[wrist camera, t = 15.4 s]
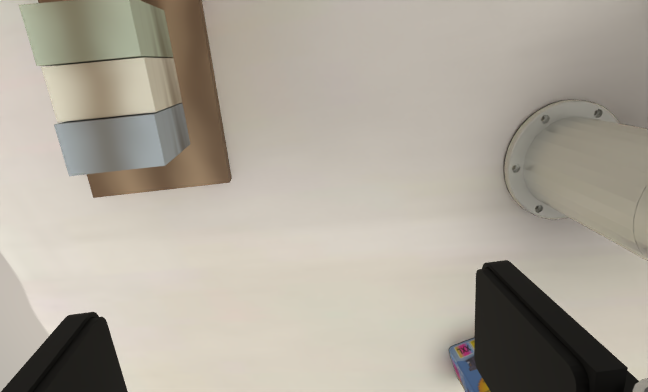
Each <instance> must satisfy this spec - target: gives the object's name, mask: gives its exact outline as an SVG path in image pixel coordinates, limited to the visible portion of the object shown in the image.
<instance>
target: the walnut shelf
mask: <svg viewBox="0 0 648 392" xmlns="http://www.w3.org/2000/svg"><path fill="white" fill-rule="evenodd" d="M38 2H39V3H36V4H24V5H19V7H20V11H21V14H22V18H23V21H24V24H25V28H26V31H27V35H28V38H29V41H30V45H31V48H32V51H33V55H34V58H35V62H36V65H37V66H50V67H41V68H42V71H43V75H44V78H45V82H46V85H47V89H48V92H49V95H50V99H51V102H52V106H53V109H54V112H55V116H56V119H57V122H62V123H58V124H55V125H54V126H55V129H56V133H57V136H58V140H59V143H60V146H61V150H62V153H63V157H64V160H65V163H66V167H67V170H68V174H69V176H75V175H84V174H87V177H88V180H89V184H90V187H91V191H92V194H93V198H95V197H104V196H113V195H122V194H131V193H140V192H149V191H158V190H167V189H176V188H185V187H194V186H202V185H211V184H220V183H229V182H230V181H231V179H232V178H231V172H230V166H229V160H228V154H227V148H226V142H225V136H224V130H223V124H222V118H221V113H220V107H219V101H218V95H217V89H216V83H215V77H214V71H213V65H212V59H211V53H210V47H209V42H208V36H207V30H206V24H205V18H204V12H203V6H202V0H69V1H65V0H38ZM65 121H66V122H65Z"/></svg>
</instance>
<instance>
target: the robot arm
mask: <svg viewBox="0 0 648 392" xmlns="http://www.w3.org/2000/svg"><path fill="white" fill-rule="evenodd" d="M541 118H542V119H541ZM513 166H514V167H513ZM512 167H513V168H512ZM504 173H505V181H506V184H507V187H508V190H509V192H510V194H511V196H512V197H513V199H514V200H515V201H516V202H517V203H518V204H519V205H520V206H521V207H522V208H524V209H525V210H527V211H528V212H530V213H532V214H533V215H536V216H539V217H542V218H546V219H563V218H569V217H570V218H571V219H573V220H575V221H577V222H579V223H580V224H582V225H584V226H586V227H588V228H589V229H591V230H593V231H595V232H597V233H598V234H600V235H602V236H604V237H606V238H607V239H609V240H611V241H613V242H615V243H616V244H618V245H620V246H622V247H624V248H625V249H627V250H629V251H631V252H633V253H634V254H636V255H638V256H640V257H642V258H643V259H645V260H647V261H648V129H645V128H640V127H635V126H629V125H624V124H620V123H619V121H618V120H617V119H616V118H615V116H614V115H613V114H612V113H611V112H610V111H608V110H607V109H606V108H605V107H603V106H601V105H598V104H596V103H593V102H588V101H583V100H566V101H560V102H557V103H553V104H550V105H548V106H546V107H544V108H542V109H540V110H539V111H537V112H536V113H535V114H533V115H532V116H531V117H529V118H528V119H527V120H526V121H525V122H524V124H523V125H522V126H521V127H520V128H519V130H518V131H517V132H516V134H515V135H514V137H513V139H512V141H511V143H510V145H509V147H508V151H507V154H506V158H505V167H504ZM474 359H475V364H476V367H477V370H478V372H479V373H480V375H481V377H482V378H483V380H484V382H485V383H486V385H487V387H488V388H489V390H490V391H491V392H648V378H647V379H642V380H641V381H638V380H637V379H636V378H635V377H634V376H633V375H632V374H631V373H629V372H628V371H627V367H626V366H625V365H624V364H623V363H622V362H621V361H619V360H618V359H617V358H616V357H615V356H614V355H613V354H612V353H611V352H609V351H608V350H607V349H606V348H605V347H604V346H603V345H602V344H601V343H599V342H598V341H597V340H596V339H595V338H594V337H593V336H592V335H591V334H589V333H588V332H587V331H586V330H585V329H584V328H583V327H582V326H581V325H579V324H578V323H577V322H576V321H575V320H574V319H573V318H572V317H571V316H570V315H568V314H567V313H566V312H565V311H564V310H563V309H562V308H561V307H560V306H558V305H557V304H556V303H555V302H554V301H553V300H552V299H551V298H550V297H548V296H547V295H546V294H545V293H544V292H543V291H542V290H541V289H540V288H538V287H537V286H536V285H535V284H534V283H533V282H532V281H531V280H530V279H528V278H527V277H526V276H525V275H524V274H523V273H522V272H521V271H520V270H518V269H517V268H516V267H515V266H514V265H513V264H512V263H511V262H509V261H508V260H505V261H497V262H489V263H485V264H484V265H483V267H482V269H479V270H477V273H476V301H475V345H474ZM1 392H128V391H127V388H126V385H125V381H124V378H123V375H122V371H121V368H120V365H119V361H118V358H117V355H116V351H115V348H114V345H113V341H112V338H111V335H110V331H109V328H108V325H107V322H106V320H105V318H103V317H99V316H98V315H97V313H95V312H89V313H81V314H73V315H68V316H67V317H66V318H65V319H64V320H63V321H62V322H61V323H60V325H59V326H58V327H57V328H56V329H55V330H54V331H53V333H52V334H51V335H50V336H49V337H48V338H47V339H46V341H45V342H44V343H43V344H42V345H41V346H40V348H39V349H38V350H37V351H36V352H35V353H34V355H33V356H32V357H31V358H30V359H29V360H28V361H27V362H26V364H25V365H24V366H23V367H22V368H21V369H20V371H19V372H18V373H17V374H16V375H15V376H14V377H13V379H12V380H11V381H10V382H9V383H8V384H7V386H6V387H5V388H4V389H3V390H2V391H1Z"/></svg>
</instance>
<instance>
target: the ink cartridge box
mask: <svg viewBox="0 0 648 392" xmlns="http://www.w3.org/2000/svg"><path fill="white" fill-rule="evenodd" d="M474 345H475V338H473V339H470V340H468V341H465V342H462V343H459V344H457V345H454V346H451V347H450V349H449V352H450V356H451V360H452V363H453V366H454V369H455V372H456V375H457V378H458V380H459V381H460V383H461V385H462V386H463V388H464V390H465V392H491V391H490V390H489V388H488V387H487V385H486V383H485V382H484V380H483V378H482V377H481V375H480V373H479V372H478V370H477V367H476V364H475V359H474Z"/></svg>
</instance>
